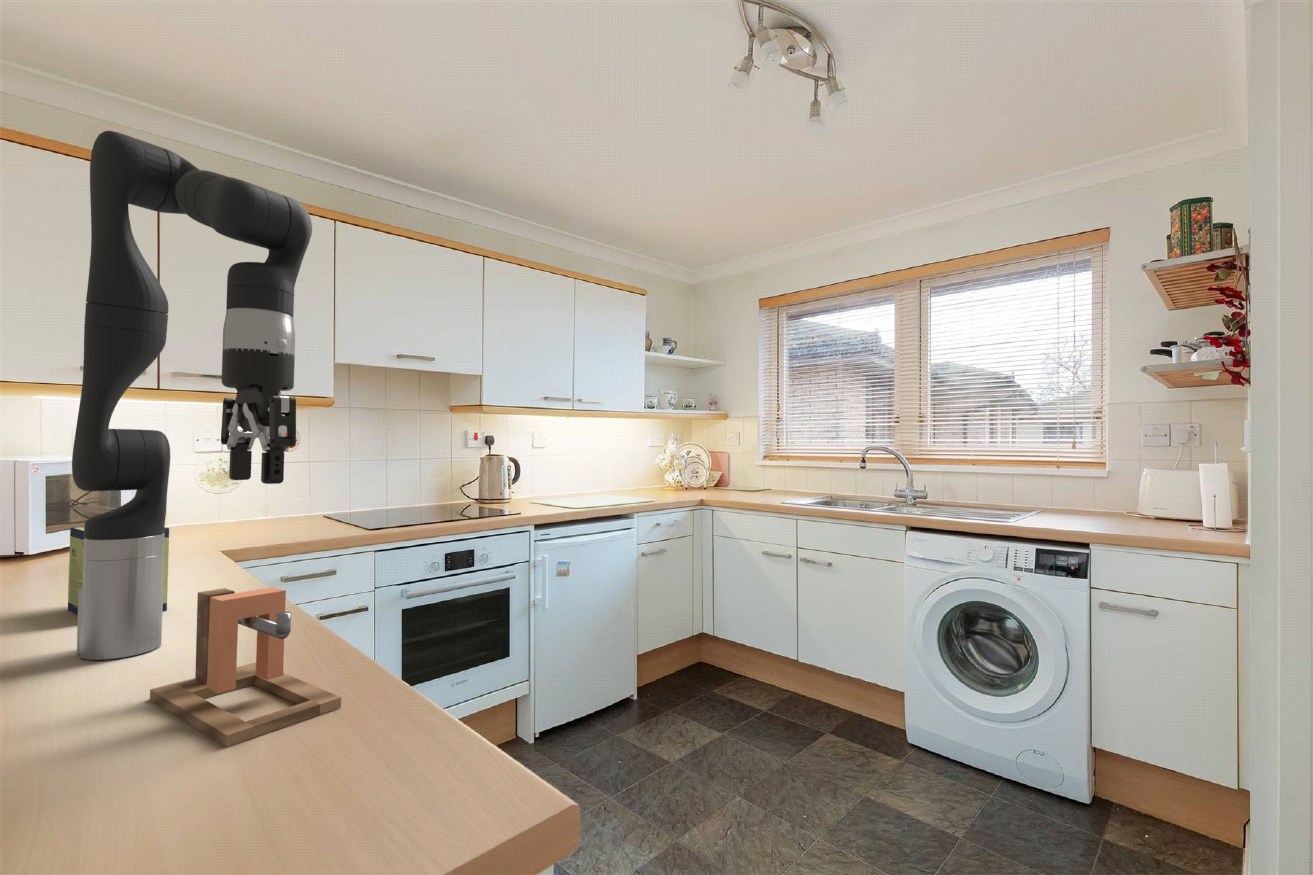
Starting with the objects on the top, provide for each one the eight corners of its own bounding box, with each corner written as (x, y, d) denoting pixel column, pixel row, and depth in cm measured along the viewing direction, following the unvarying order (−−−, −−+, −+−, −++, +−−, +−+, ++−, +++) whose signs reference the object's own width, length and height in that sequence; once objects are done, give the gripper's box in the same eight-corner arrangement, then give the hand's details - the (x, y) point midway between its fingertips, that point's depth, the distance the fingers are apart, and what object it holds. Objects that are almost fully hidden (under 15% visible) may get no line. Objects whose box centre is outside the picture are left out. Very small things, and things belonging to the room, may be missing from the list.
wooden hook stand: (149, 699, 75) (152, 598, 76) (257, 670, 85) (259, 581, 85) (226, 746, 64) (229, 627, 64) (340, 707, 74) (343, 604, 74)
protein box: (96, 623, 107) (99, 533, 107) (65, 610, 115) (68, 526, 115) (169, 610, 115) (171, 527, 116) (135, 599, 124) (137, 521, 124)
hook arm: (214, 617, 78) (215, 594, 78) (226, 615, 79) (227, 592, 79) (279, 641, 69) (280, 615, 69) (293, 638, 70) (293, 612, 70)
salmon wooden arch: (217, 693, 70) (221, 600, 71) (206, 687, 72) (210, 597, 72) (283, 675, 76) (285, 590, 77) (271, 670, 78) (274, 586, 78)
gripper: (200, 350, 77) (196, 480, 77) (252, 341, 69) (248, 486, 69) (265, 358, 83) (261, 478, 83) (320, 350, 76) (316, 483, 75)
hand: (255, 481), depth 76 cm, fingers open, 8 cm apart
